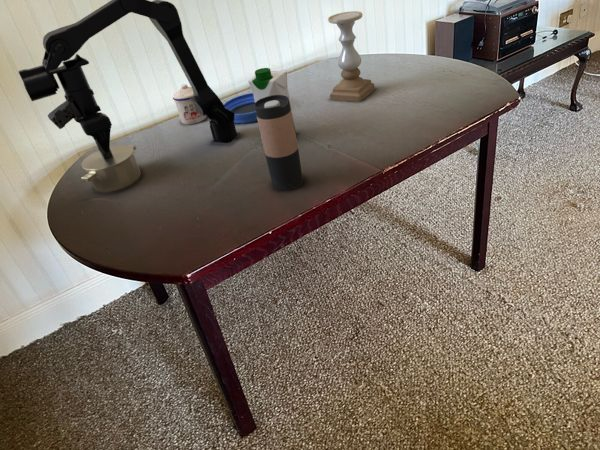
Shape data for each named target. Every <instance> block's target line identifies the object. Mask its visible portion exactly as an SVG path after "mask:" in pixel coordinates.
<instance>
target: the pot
mask: <svg viewBox="0 0 600 450" xmlns="http://www.w3.org/2000/svg"><path fill="white" fill-rule="evenodd" d="M128 146H131V147H132V148H133V149H134V151H136V150H137V147H136V145H130V144H129V145H128ZM85 172H86V174H85V175H83V176H81V180H82V182H86V183H87V182H89V183H91V185H92V188H93V190H95V191H96V192H98V193H110V192H116V191H120V190H123V189H124V188H127V187H129V186H131V185H132V184H134V183H135V182H136V181H138V180H139V179H140V177H141V176H142V173H141V169H140V166H139V165H138V162H137V159H136V157H135V155H134V154H133V155H132V157H131V158H130V159H128V160H127V161H125V162H124V163H122V164H120V165H118V166H115V167H112V168H109V169H106V170H101V171H87V170H85Z"/></svg>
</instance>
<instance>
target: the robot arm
mask: <svg viewBox="0 0 600 450" xmlns="http://www.w3.org/2000/svg"><path fill="white" fill-rule="evenodd" d="M131 13H132V14H136V15H140V16H142V17H145V18H148V19H149V20H150V23H152V24H153V25H154V27H155V28H156V30H157V31H158V32H159V33H160V35H161V36H163V38H164V39H165V40H166V42H167V43H168V46H169V47H170V49H171V51H172V53H173V55H174V57H175V59H176V60H177V62H178V64H179V66H180V67H181V70H182V72H183V73H184V76H185V77H186V79H187V81H188V83H189V85H190V87H192V89H193V94H194V96H193V97H190V100H191V101H192V102H193V104H194V106H195V110H196V111H198V112H199V113H201V114H202V115H204V116H206V118H207V119H209V129H210V132H211V136H212V142H213V143H218V144H219V143H220V144H230V143H232V142H233V141H234V140H235V139H236V138H237V137H238V136H240V135H241V133H240V132H237V128H236V123H234V116H235V114H234V113H233V112H232V111H230V110H228V109H226V108H225V107H224V104H225V103H223V101H222V100H221V99H220V97H219V96H218V95H217V93H216V92H214V90H213V89H212V87H210V86H209V84H208V82H207V79H206V78H205V76H204V74H203V72H202V70H201V68H200V66H199V64H198V62H197V60H196V58H195V56H194V54H193V52H192V50H191V47H190V46H189V44H188V42H187V40H186V38H185V36H184V31H183V24H182V21H181V17H180V14H179V11H178V8H177V7H176V6H175V4H173V3H172V2H170V1H167V0H110V1H107V2H106V3H104V5H102V6H100V7H98V8H97V9H95V10H94V11H92V12H91V13H89V14H87V15H85V16H84V17H82V18H81V19H79V20H78V21H76V22H74V23H71V24H68V25H64V26H61V27H58V28H56V29H54V30H51V31H48V32H47V33H46V34H44V36H43V37H42V46H43V49H44V55H43V59H42V63H41V65H39V66H34V67H31V68H25V69H20V70H18V75H19V76H20V79H21V81H22V82H23V86H24V89H25V91H26V93H27V95H28V97H29V99H30V101H31V102H35V101H39V100H42V99H46V98H48V97H52V96H55V95H57V94H58V93H57V92H59V89H60V85H61V87H62V89H63V92H64V99H65V101H64V102H62V103H61V104H59V105H58V106H57V107H55V108H54V109H53V110H52V111H51V112H49V113H48V114H47V117H48V119H49V120H50V122H51V123H53V124H54V125H55V127H57V128H58V129H59V130H61V129H63V128H65V127H66V125H67V124H68V123H70V122H71V121H72V120H74V121H75V122H76V123H78V124H79V125H80V127H81V129H82V132H83V133H84V134H85V135H86V136H88V137H92V138H93V140H94V141H95V140H96V141H97V142H98V144H99V145H100V147H101V148H102V150H103V151H104V153H108V152H109V148H110V147H111V146H110V145H111V143H110V142H111V132H112V131H111V129H112V126H113V124H112V121H111V119H110V117H109V116H108V115H107V114H106V113H104V112H101V111H102V109H101V107H100V106H99V104H98V102H97V100H96V97H95V96H94V95H95V92H94V90H93V89H92V88H91V86H90V84H89V82H88V79H87V76H86V74H85V72H84V70H83V66H87V65H89V64H90V61H89V60H88V59H87V58H85V57H82V56H80V55H79V53H78V52H79V51H80V50H81V49H82V47H83V46H84V45H85V43H87V42H88V41H89V40H90V39H91V38H92V37H94V36H96V35H98V34H99V33H101V32H102V31H104V30H105V29H106V28H108V27H109V26H111V25H113V24H115V23H116V22H118V21H119V20H120V19H123V17H125V16H127V15H128V14H131ZM72 57H74V58H72ZM61 64H62V65H61ZM55 75H56V76H57V79H58V80H59V83H60V85H59V83H58V81H57V79H56V77H55Z"/></svg>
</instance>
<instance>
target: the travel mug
mask: <svg viewBox="0 0 600 450" xmlns="http://www.w3.org/2000/svg"><path fill="white" fill-rule="evenodd" d="M289 99H290V97H289V98H288V97H287V96H284V95H272V96H268V97H264V98H262V99H260V100H258V101H257V102H256V103H255V111H256V115H257V120H258V121H257V124H258V128H259V133H260V138H261V143H262V148H263V152H264V156H265V160H266V163H267V168H268V171H269V174H270V179H271V183H272V186H273V188H274V189H276V190H278V191H290V190H294V189H296V188H298V187H300V186H301V185H302V183H303V179H304V178H303V171H302V166H301V158H300V149H299V145H298V140H297V133H296V134H295V130H296V127H295V128H294V125H295V122H294V123H293V121H294V118H292V116H293V112H292V113H291V110H292V106H291V107H290V104H291V101H290V102H289Z"/></svg>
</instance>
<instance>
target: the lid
mask: <svg viewBox="0 0 600 450" xmlns="http://www.w3.org/2000/svg"><path fill="white" fill-rule="evenodd" d="M94 142H95V144H96V147H97V149H98V150H97V151H95V152H93V153H90V154H89V155H88V156H86V157H85V158H84V159H83V161H81V167H82V170H84V171H86V170H87V171H101V170H106V169H109V168H112V167H115V166H118V165H120V164H122V163H124V162H125V161H127V160H128V159H130V158H131V157H132V155H133V154H134V153H135V150H134V149H133V148H132V147H131V146H132V145H131V146H129V145H127V144H118V145H113V146H110V148H109V152H108V153H104V151H103V150H102V148H101V147H100V145H99V144H98V142H97V141H96V140H94Z"/></svg>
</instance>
